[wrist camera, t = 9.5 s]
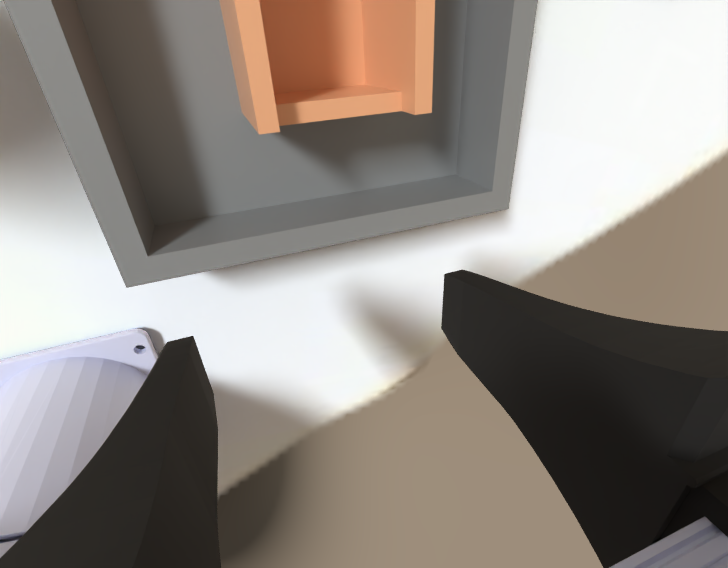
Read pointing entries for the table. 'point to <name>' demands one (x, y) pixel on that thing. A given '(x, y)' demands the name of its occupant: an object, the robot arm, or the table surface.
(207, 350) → the table surface
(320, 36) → the small crate
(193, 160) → the large crate
